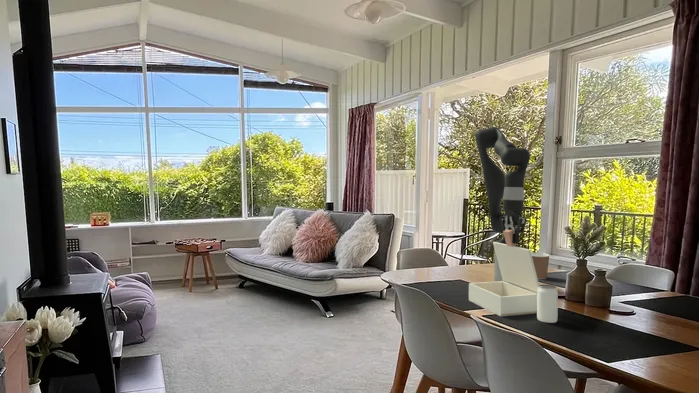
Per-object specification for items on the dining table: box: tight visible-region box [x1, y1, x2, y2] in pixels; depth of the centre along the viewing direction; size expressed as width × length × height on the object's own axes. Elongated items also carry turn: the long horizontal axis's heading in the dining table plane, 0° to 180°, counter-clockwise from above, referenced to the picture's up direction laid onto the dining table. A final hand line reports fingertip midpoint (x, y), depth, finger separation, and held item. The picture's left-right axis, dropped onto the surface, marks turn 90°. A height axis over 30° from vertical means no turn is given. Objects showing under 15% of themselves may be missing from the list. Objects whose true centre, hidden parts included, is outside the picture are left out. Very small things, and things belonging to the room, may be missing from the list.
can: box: [536, 284, 559, 324], centre depth 146 cm, size 6×6×12 cm
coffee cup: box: [531, 252, 551, 280], centre depth 213 cm, size 10×10×12 cm
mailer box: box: [468, 281, 537, 318], centre depth 163 cm, size 16×22×7 cm
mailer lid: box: [492, 230, 540, 293], centre depth 164 cm, size 23×22×2 cm
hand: (511, 242), depth 163 cm, fingers closed on mailer lid, 3 cm apart
